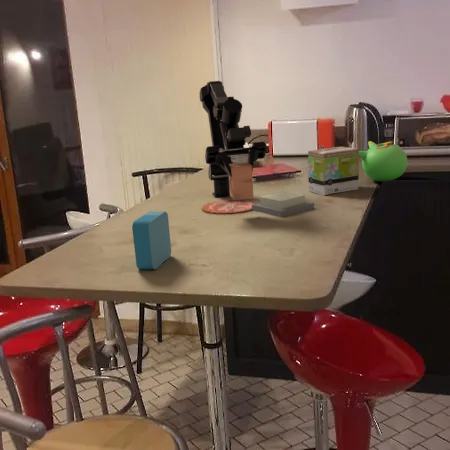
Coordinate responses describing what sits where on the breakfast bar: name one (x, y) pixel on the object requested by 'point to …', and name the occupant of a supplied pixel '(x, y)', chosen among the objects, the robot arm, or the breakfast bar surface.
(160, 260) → the data package
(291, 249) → the breakfast bar surface
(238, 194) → the terracotta block
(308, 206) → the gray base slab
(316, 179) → the tea box
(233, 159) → the supplement box
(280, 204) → the sage top slab
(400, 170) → the green rounded body
